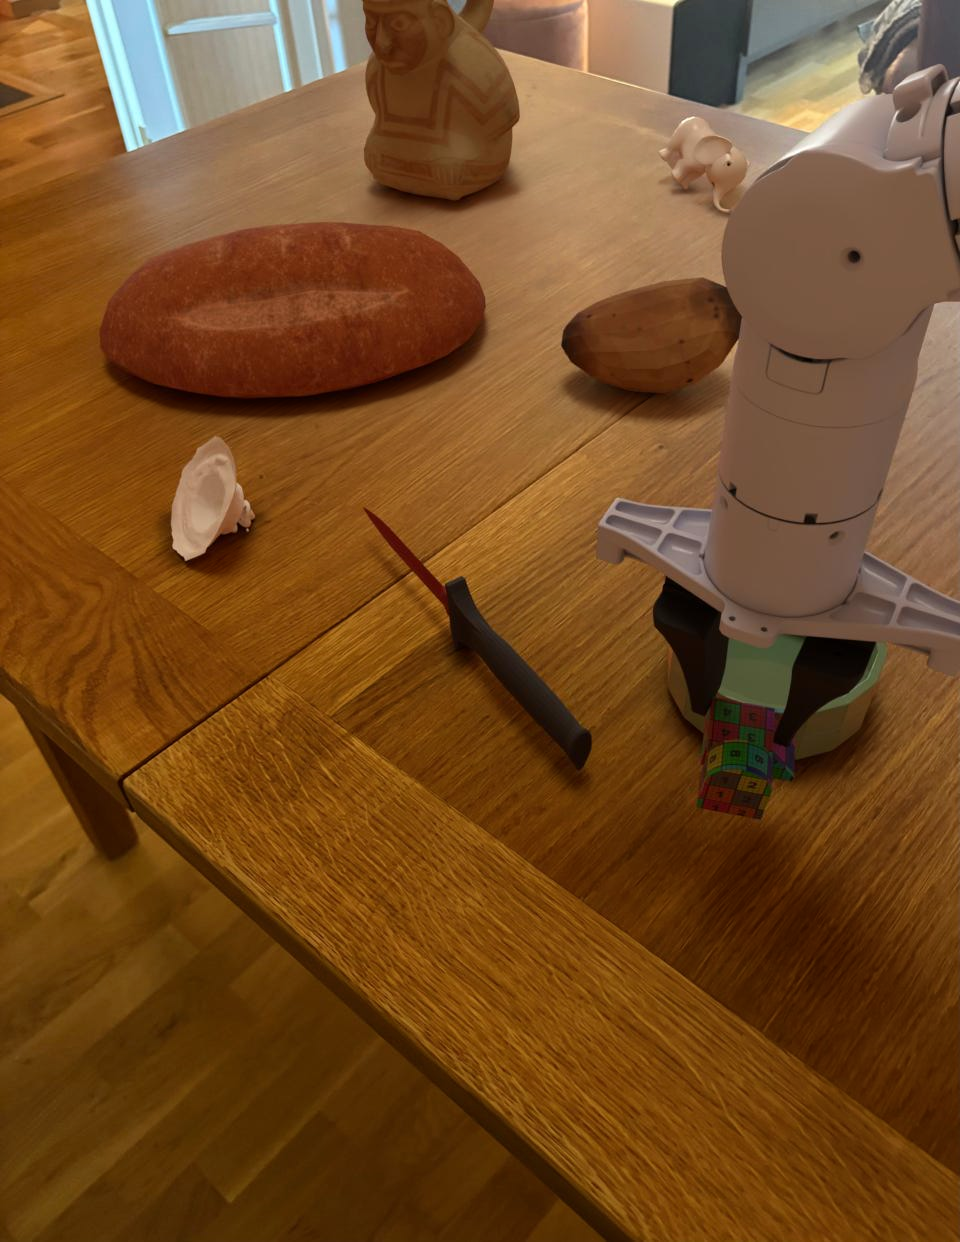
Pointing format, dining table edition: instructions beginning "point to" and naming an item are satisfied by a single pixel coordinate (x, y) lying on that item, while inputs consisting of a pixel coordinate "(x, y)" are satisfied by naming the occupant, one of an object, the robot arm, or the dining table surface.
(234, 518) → the seashell
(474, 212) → the dining table surface
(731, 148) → the elephant figurine
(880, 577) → the robot arm
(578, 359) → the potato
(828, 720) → the bowl
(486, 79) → the ceramic vessel
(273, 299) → the bread
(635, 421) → the dining table surface
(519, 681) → the knife
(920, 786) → the dining table surface
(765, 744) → the block
